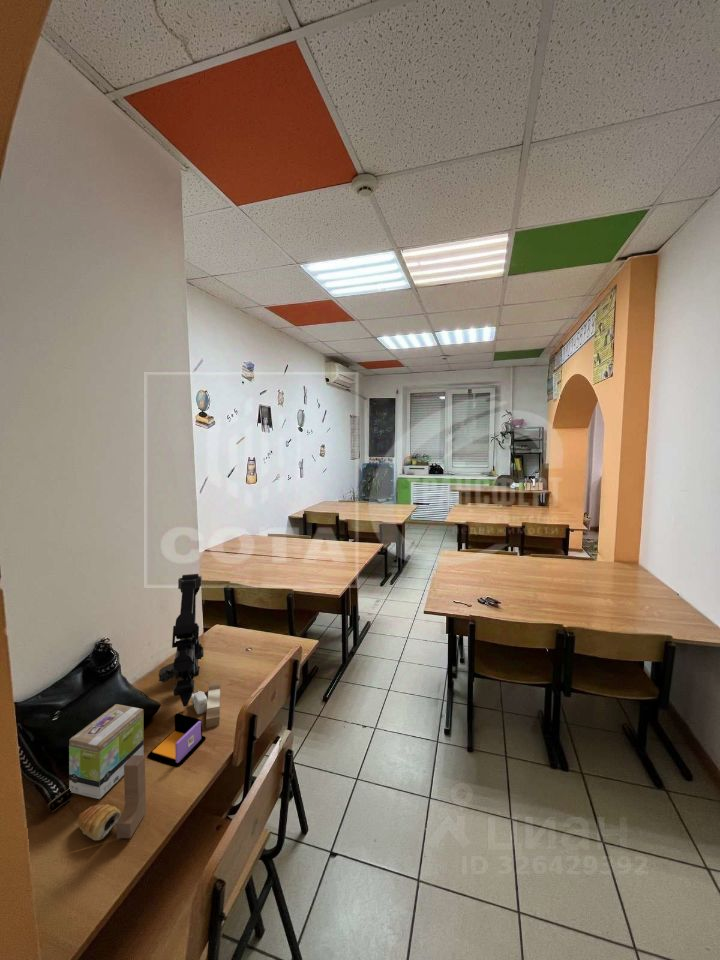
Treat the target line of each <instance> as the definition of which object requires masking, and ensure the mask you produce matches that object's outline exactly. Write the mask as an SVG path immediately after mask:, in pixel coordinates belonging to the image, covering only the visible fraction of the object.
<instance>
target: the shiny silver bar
mask: <svg viewBox="0 0 720 960" xmlns="http://www.w3.org/2000/svg"><path fill="white" fill-rule="evenodd" d="M207 689H208V690H207V711H206V715H205V717H206V718H205V727H206V728H212V727H215V726H220V721H221V720H220V719H221V718H220V717H221V716H220V713H221V712H220V711H221V681H215V682H210V683H208V688H207Z"/></svg>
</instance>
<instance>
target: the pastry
mask: <svg viewBox="0 0 720 960" xmlns="http://www.w3.org/2000/svg"><path fill="white" fill-rule="evenodd" d="M121 815H122V811H121V809H119V808H117V807H116V806H115V805H111V804H109V803H106V804H95V805H91V806H89V807H88V808H86V809H84V811H83V812H80V813H79V814H78V818H77V822H76V824H77V825H78V827H79V829H80V830H81V831H82V834H83V835H86V837H88V838H90V839H92V840H93V841H101V840H102V839H104V838H105V837H106V836H107V835H108V834H109V832H110V831H112V828H113V827H115V825H116V823H117V822H118V820H119V819H120V817H121Z"/></svg>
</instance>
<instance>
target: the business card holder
mask: <svg viewBox="0 0 720 960" xmlns="http://www.w3.org/2000/svg"><path fill="white" fill-rule="evenodd" d="M206 739H207V737H206V736H204V735H203V721H202V720H201V719H200V718H196V717H192V716H189V715H185V714H181V713H175V715H174V730H173V731H172V732H171V733H170V734H168V735H167V736H166V737H165V738H164V739H163V740H161V742H160V743H158V745H156V746H155V747H154V748H153V749H152V750H151V751H150V752H149V753H148V754H147V759H149V760H152V761H155V762H158V763H161V764H164V765H167V766H171V767H174V768H179V767H181V766H183V765H184V763H186V761H188V759H189V758H190V757H191V756H192V755H193V754H194V753H195V752H196V751H197V749H198V748H200V747H201V746H202V744H204V743H205V741H206Z"/></svg>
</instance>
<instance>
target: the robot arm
mask: <svg viewBox="0 0 720 960" xmlns="http://www.w3.org/2000/svg"><path fill="white" fill-rule="evenodd" d="M202 578H203V577H202V576H201V575H199V573H192V574H191V573H190V574H182V577H179V578H178V580H177V584H178V585H177V589H178V590H180V593H181V602H180V611H179V612H180V613H179V615H178V616H177V617H176V618H175V625H173V628H172V639H171V641H172V643H171V648H172V649H173V648H176V652H175V655H174V658H173V662H172V663H169V664H167V665H165V666H163V667H161V668H160V669H159V671H158V674H157V675H158V678H159V680H158V681H159V682H161V684H164V683H166V682H169V681H170V680H171V679H173V678H175V679H176V680H177V679H181V680H177V681H176V682H175V683H174V685H173V696H175V697H176V696H177V697H178V696H179V698H180V701H181V703H182V707H184V708H185V707H187V706H188V704H189V702H190V700H191V695H192V693H193V694H194V692H195V680H194V677H198V676H200V668H201V666H200V665H199V660H202V658H204V647H203V646H202V643H200V641H201V640H200V639H201V638H199V637H200V636H199V635H200V626H199V624H198V623H197V620H196V617H197V616H196V615H197V614H196V613H197V612H196V611H197V610H196V608H197V607H196V606H197V604H196V603H197V600H196V599H197V597H196V596H197V594H198V593H199V591H200V589H201V587H202V581H203V579H202Z"/></svg>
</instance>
